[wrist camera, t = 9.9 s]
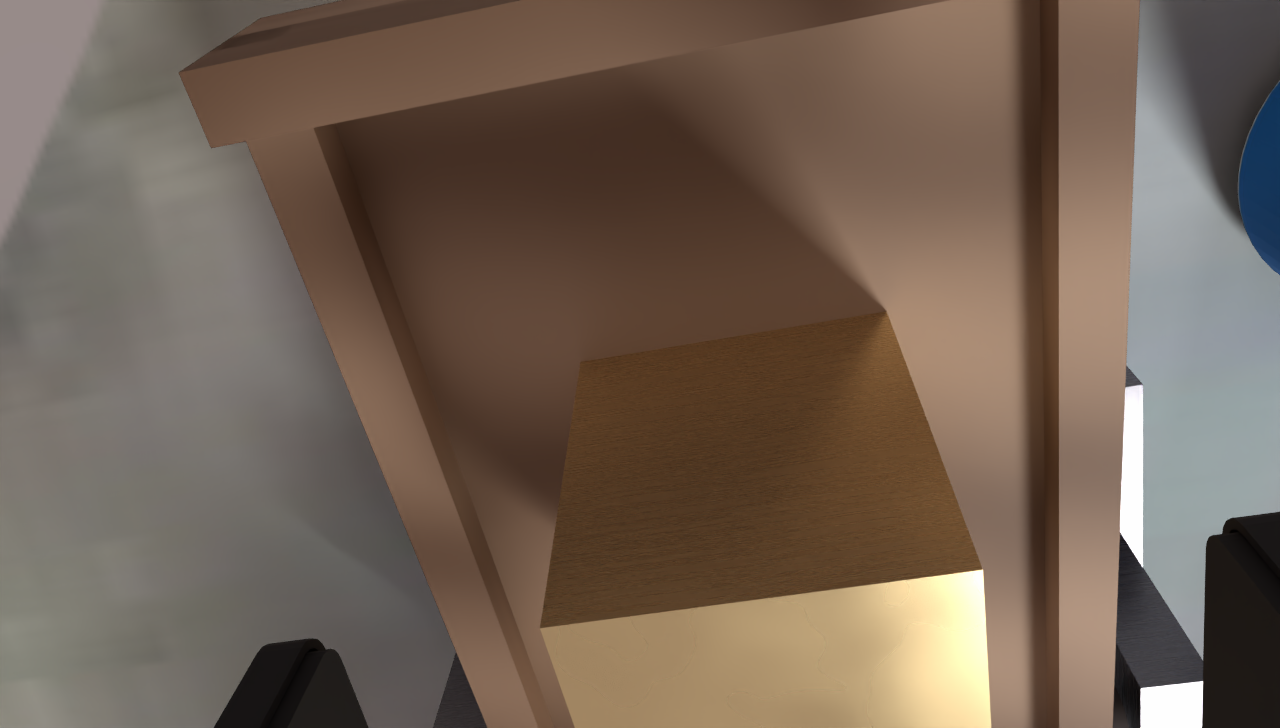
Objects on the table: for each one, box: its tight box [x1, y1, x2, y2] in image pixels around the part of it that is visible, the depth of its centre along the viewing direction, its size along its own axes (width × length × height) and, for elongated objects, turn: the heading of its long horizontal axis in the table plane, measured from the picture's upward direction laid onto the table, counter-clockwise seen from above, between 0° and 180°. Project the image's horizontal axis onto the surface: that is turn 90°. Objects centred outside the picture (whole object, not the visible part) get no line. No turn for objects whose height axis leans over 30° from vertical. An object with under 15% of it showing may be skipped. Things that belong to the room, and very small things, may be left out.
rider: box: [540, 311, 991, 728], centre depth 15 cm, size 5×5×6 cm
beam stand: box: [433, 366, 1203, 728], centre depth 25 cm, size 10×18×7 cm, turn 101°
